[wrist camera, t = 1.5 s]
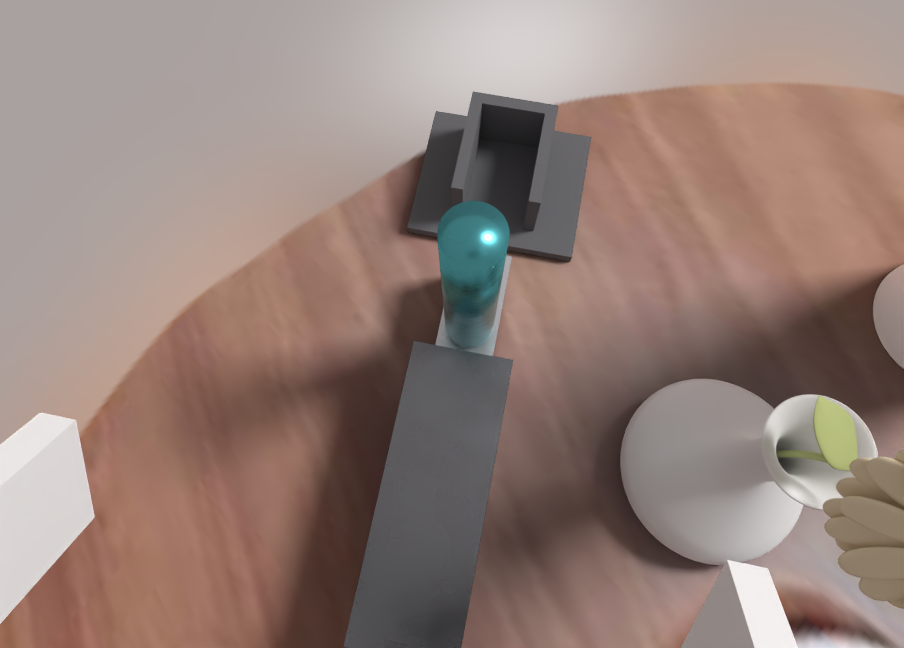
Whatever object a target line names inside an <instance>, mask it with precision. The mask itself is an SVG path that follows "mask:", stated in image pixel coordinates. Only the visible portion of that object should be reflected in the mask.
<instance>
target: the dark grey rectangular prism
mask: <svg viewBox="0 0 904 648" xmlns="http://www.w3.org/2000/svg"><path fill="white" fill-rule="evenodd" d="M512 363H513V360H510V359H505V358H500V357H495V356H490V355H484V354H479V353H474V352H469V351H464V350H459V349H454V348H448V347H443V346H438V345H433V344H428V343H423V342H418V341H414V342H413V346H412V351H411V355H410V359H409V364H408V368H407V372H406V377H405V381H404V385H403V390H402V394H401V398H400V403H399V407H398V411H397V416H396V420H395V425H394V429H393V433H392V438H391V442H390V446H389V451H388V455H387V459H386V464H385V468H384V472H383V477H382V481H381V485H380V490H379V494H378V498H377V503H376V507H375V511H374V516H373V520H372V525H371V529H370V533H369V538H368V542H367V546H366V551H365V555H364V559H363V564H362V568H361V572H360V577H359V581H358V585H357V590H356V594H355V598H354V603H353V607H352V612H351V616H350V620H349V625H348V629H347V633H346V638H345V642H344V646H343V647H347V648H461V645H462V640H463V634H464V629H465V623H466V618H467V612H468V606H469V601H470V595H471V590H472V584H473V579H474V573H475V568H476V562H477V557H478V551H479V546H480V540H481V534H482V529H483V523H484V518H485V512H486V507H487V501H488V496H489V490H490V485H491V479H492V474H493V468H494V463H495V457H496V451H497V446H498V440H499V435H500V429H501V424H502V418H503V413H504V407H505V402H506V396H507V391H508V385H509V380H510V374H511V368H512Z"/></svg>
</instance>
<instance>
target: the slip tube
mask: <svg viewBox="0 0 904 648" xmlns="http://www.w3.org/2000/svg"><path fill="white" fill-rule="evenodd" d="M509 236H510V232H509V226H508V223H507V221H506V219H505V217H504V216H503V214H502V213H501V212H500V211H499V210H498V209H497V208H495V207H494V206H492V205H490V204H488V203H485V202H481V201H466V202H462V203H459V204H457V205H455V206H453V207H452V208H450V209H449V210H448V211H447V212H446V213H445V214H444V215H443V217H442V218H441V220H440V222H439V225H438V230H437V238H438V250H439V261H440V272H441V284H442V295H443V306H444V307H443V312H442V317H441V321H440V326H439V330H438V335H437V339H436V344H435V345H438V346H443V347H448V348H454V349H459V350H464V351H469V352H474V353H479V354H484V355H490V356H493V353H494V348H495V342H496V337H497V332H498V327H499V321H500V316H501V311H502V306H503V300H504V295H505V290H506V285H507V280H508V274H509V269H510V264H511V259H512V256H506V254H507V248H508V243H509Z"/></svg>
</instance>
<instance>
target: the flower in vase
mask: <svg viewBox="0 0 904 648" xmlns="http://www.w3.org/2000/svg"><path fill="white" fill-rule="evenodd" d="M620 467H621V476H622V481H623V485H624V489H625V492H626V495H627V498H628V500H629V503H630V504H631V506H632V508H633V510H634V512H635V514H636V515H637V517H638V518H639V520H640V521H641V523H642V524H643V525H644V526H645V527H646V529H647V530H648V531H649V532H650V533H651V534H652V535H653V536H654V537H655V538H656V539H657V540H658V541H660V542H661V543H662V544H663V545H665V546H666V547H668V548H669V549H671V550H672V551H674V552H676V553H678V554H680V555H682V556H683V557H686V558H689V559H691V560H694V561H697V562H701V563H706V564H712V565H725V563H726V561H727V560H731V561H735V562H740V563H745V562H748V561H751V560H754V559H757V558H759V557H761V556H763V555H765V554H767V553H768V552H769V551H771V550H772V549H774V548H775V547H776V546H777V545H778V544H779V543H780V542H781V541H782V540H783V539H784V538H785V537H786V536H787V535H788V534H789V532H790V531H791V530H792V528H793V527H794V525H795V524H796V522H797V520H798V518H799V516H800V513H801V510H802V508H803V505H804V506H807V507H810V508H813V509H817V510H824V512H825V513H826V514H827V515H828V516H829V517H831V519H829V520H828V521H827V522H826V523H825V530H826V532H827V533H828V534H829V535H830V536H832V537H833V538H835V539H836V543H837V545H838V546H839V547H840V548H841V549H842V550H844V551H846V552H844V553H843V554H841V555H840V556H839V558H838V563H839V565H840V567H841V568H842V569H843V570H844V571H845V572H846V573H848V574H850V575H853V576H856V577H860V578H861V580H860V582H859V588H860V590H861V591H862V592H863V593H864V594H865V595H866V596H868V597H870V598H872V599H874V600H879V601H888V602H889V603H891V604H892V605H894V606H896V607H899V608H904V450H903V451H900V452H898V453H897V454H896V456H895V459H893V458H889V457H878V452H877V448H876V444H875V441H874V438H873V436H872V434H871V432H870V430H869V429H868V427H867V426H866V424H865V423H864V422H863V420H862V419H861V418H860V417H859V416H858V415H857V414H856V413H855V412H854V411H853V410H851V409H850V408H849V407H848V406H846V405H844V404H843V403H841V402H839V401H837V400H835V399H832V398H829V397H826V396H822V395H814V394H806V395H799V396H795V397H792V398H789V399H787V400H785V401H784V402H782V403H781V404H779V405H778V406H777V407H776V408H775V409H774V408H773V407H772V406H770V405H769V404H768V403H767V402H765V401H764V400H763V399H761V398H760V397H758V396H757V395H755V394H754V393H752V392H750V391H748V390H746V389H744V388H741V387H739V386H737V385H734V384H731V383H728V382H724V381H719V380H714V379H689V380H684V381H679V382H676V383H673V384H670V385H668V386H666V387H664V388H662V389H660V390H658V391H657V392H655V393H654V394H652V395H651V396H650V397H649V398H647V399H646V400H645V401H644V402H643V403H642V404H641V405H640V407H639V408H638V409H637V410H636V412H635V413H634V415H633V416H632V418H631V420H630V421H629V424H628V426H627V428H626V430H625V434H624V437H623V441H622V446H621V453H620Z"/></svg>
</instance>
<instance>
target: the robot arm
mask: <svg viewBox="0 0 904 648" xmlns="http://www.w3.org/2000/svg"><path fill="white" fill-rule="evenodd" d="M94 517H95V516H94V511H93V506H92V501H91V495H90V490H89V485H88V480H87V475H86V470H85V464H84V459H83V454H82V449H81V444H80V438H79V433H78V428H77V423H76V420H73V419H69V418H64V417H60V416H55V415H50V414H46V413H41V412H40V413H39V414H38V415H37V416H35V417H34V418H33V419H32V420H31V421H29V422H28V423H27V424H25V425H24V426H23V427H22V428H20V429H19V430H18V431H17V432H15V433H14V434H13V435H12V436H10V437H9V438H8V439H7V440H5V441H4V442H3V443H2V444H1V445H0V623H1V622H2V621H3V620H4V619H5V618H6V617H7V615H8V614H9V613H10V612H11V611H12V610H13V609H14V608H15V606H16V605H17V604H18V603H19V602H20V601H21V600H22V599H23V597H24V596H25V595H26V594H27V593H28V592H29V591H30V590H31V588H32V587H33V586H34V585H35V584H36V583H37V582H38V581H39V579H40V578H41V577H42V576H43V575H44V574H45V573H46V572H47V570H48V569H49V568H50V567H51V566H52V565H53V564H54V562H55V561H56V560H57V559H58V558H59V557H60V556H61V555H62V553H63V552H64V551H65V550H66V549H67V548H68V547H69V546H70V544H71V543H72V542H73V541H74V540H75V539H76V538H77V537H78V535H79V534H80V533H81V532H82V531H83V530H84V529H85V528H86V526H87V525H88V524H89V523H90V522H91V521H92V520H93V518H94ZM681 648H798V647H797V644H796V641H795V639H794V636H793V634H792V631H791V628H790V626H789V623H788V620H787V618H786V615H785V612H784V610H783V607H782V605H781V602H780V599H779V597H778V594H777V591H776V589H775V586H774V583H773V581H772V578H771V576H770V573H769V570H768V568H763V567H759V566H754V565H749V564H745V563H740V562H735V561H731V560H727V561H726V563H725V565H724V567H723V569H722V571H721V572H720V574H719V576H718V578H717V580H716V582H715V584H714V586H713V588H712V590H711V591H710V593H709V595H708V597H707V599H706V601H705V603H704V605H703V607H702V609H701V611H700V612H699V614H698V616H697V618H696V620H695V622H694V624H693V626H692V628H691V630H690V631H689V633H688V635H687V637H686V639H685V641H684V643H683V645H682V647H681Z"/></svg>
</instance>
